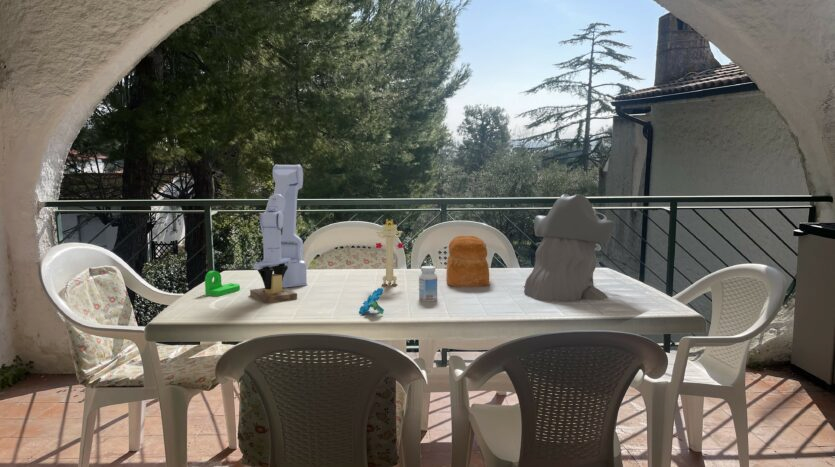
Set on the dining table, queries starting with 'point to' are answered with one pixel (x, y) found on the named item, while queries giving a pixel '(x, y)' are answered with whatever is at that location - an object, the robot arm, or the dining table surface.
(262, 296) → the brown square frame
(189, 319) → the dining table surface
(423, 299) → the pill bottle
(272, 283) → the sand colored cuboid
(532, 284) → the bust
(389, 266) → the cat figure
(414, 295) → the dining table surface
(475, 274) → the bread
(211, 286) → the mechanical part
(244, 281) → the dining table surface
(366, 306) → the blue flower
